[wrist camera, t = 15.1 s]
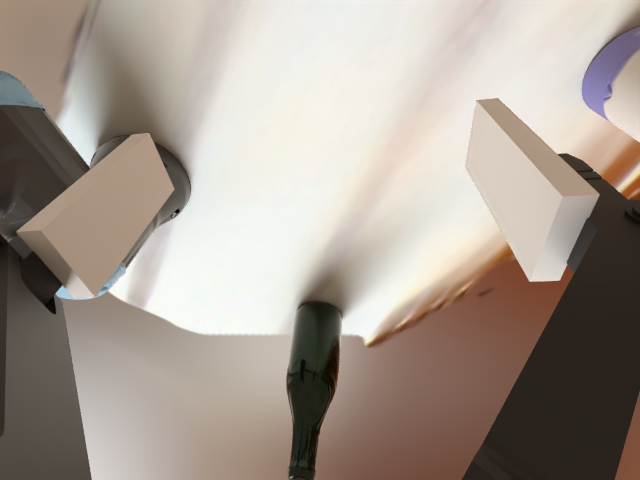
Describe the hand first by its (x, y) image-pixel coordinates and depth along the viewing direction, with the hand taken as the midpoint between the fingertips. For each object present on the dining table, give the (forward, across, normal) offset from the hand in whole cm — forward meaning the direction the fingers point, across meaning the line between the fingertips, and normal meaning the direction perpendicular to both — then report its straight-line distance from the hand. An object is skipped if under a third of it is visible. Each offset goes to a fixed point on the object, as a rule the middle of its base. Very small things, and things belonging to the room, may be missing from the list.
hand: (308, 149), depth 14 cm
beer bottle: (+35, +8, +56) cm, 66 cm away
